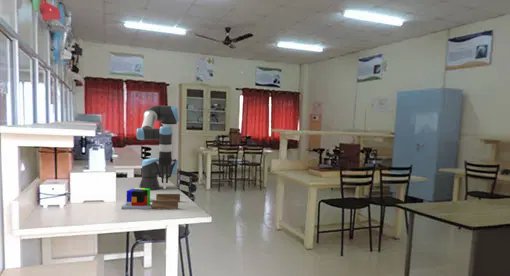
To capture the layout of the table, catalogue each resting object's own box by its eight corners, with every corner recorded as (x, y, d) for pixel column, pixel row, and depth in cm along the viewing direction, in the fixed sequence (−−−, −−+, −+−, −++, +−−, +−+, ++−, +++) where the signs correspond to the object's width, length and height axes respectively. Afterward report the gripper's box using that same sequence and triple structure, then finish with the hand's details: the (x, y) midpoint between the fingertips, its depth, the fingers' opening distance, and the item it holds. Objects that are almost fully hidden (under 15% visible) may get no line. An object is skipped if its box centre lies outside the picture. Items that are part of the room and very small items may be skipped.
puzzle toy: (126, 207, 196) (126, 190, 196) (135, 203, 206) (135, 187, 206) (141, 208, 194) (141, 192, 194) (149, 204, 204) (150, 188, 204)
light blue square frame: (128, 201, 209) (128, 199, 209) (154, 201, 212) (154, 199, 212) (121, 208, 191) (121, 206, 191) (150, 208, 194) (150, 206, 194)
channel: (156, 201, 212) (156, 193, 212) (179, 201, 215) (180, 193, 214) (152, 208, 194) (152, 200, 194) (177, 208, 196) (177, 200, 196)
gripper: (153, 151, 198) (153, 189, 199) (175, 152, 200) (174, 189, 201) (155, 150, 205) (154, 186, 207) (176, 150, 207) (175, 186, 209)
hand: (164, 188), depth 204 cm, fingers closed
